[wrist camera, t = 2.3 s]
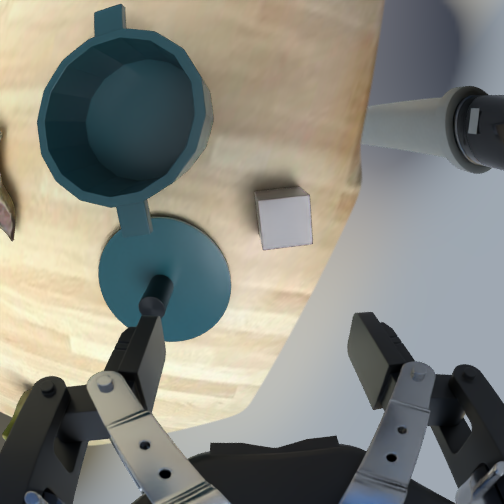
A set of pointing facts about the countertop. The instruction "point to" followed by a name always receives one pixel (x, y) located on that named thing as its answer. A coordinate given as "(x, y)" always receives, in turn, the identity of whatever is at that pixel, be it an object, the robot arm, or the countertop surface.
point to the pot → (123, 118)
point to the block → (284, 217)
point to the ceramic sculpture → (6, 210)
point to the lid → (166, 278)
